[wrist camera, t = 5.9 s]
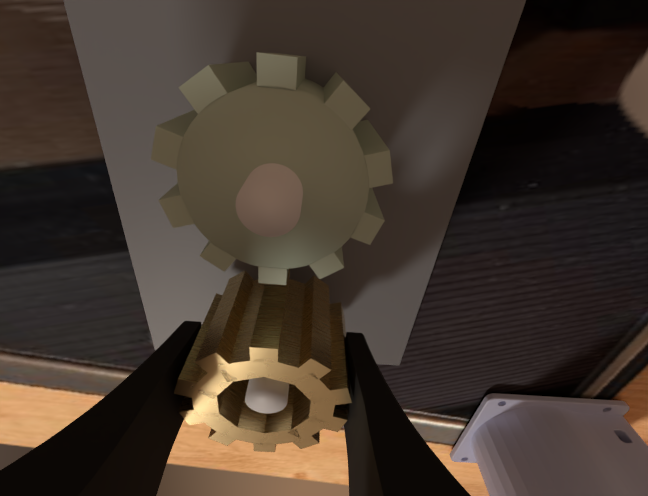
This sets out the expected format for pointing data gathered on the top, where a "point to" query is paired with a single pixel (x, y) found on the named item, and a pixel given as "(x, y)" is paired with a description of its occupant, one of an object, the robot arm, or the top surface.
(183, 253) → the gear board
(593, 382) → the top surface
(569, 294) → the top surface
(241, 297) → the loose gear
